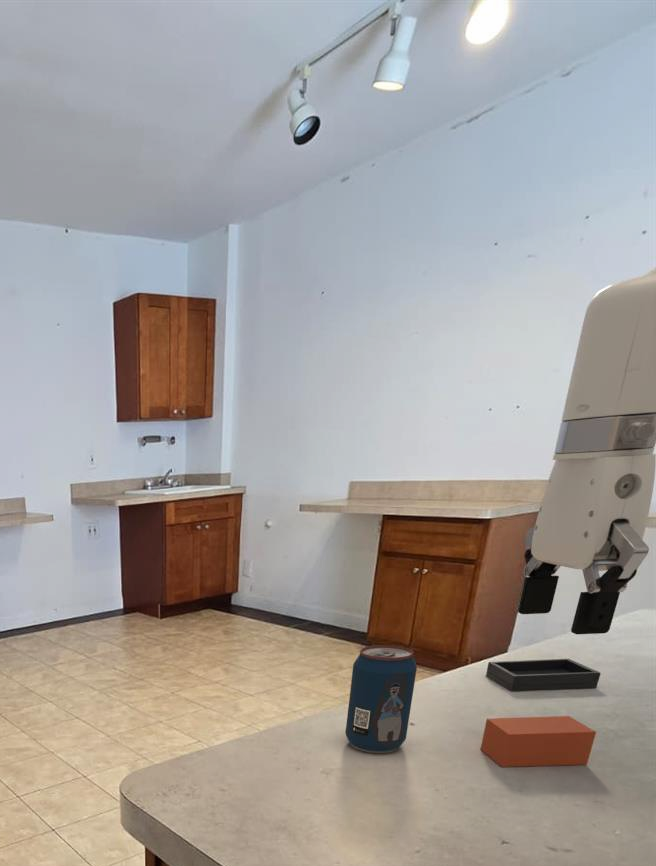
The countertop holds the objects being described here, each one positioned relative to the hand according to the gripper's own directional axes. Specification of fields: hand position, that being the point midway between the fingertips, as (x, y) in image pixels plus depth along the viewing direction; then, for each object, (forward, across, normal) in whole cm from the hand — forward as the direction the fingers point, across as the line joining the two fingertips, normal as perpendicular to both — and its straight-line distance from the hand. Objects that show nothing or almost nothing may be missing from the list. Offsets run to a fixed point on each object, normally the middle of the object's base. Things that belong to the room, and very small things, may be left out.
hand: (559, 622), depth 67 cm
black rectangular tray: (+16, +28, -16) cm, 36 cm away
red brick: (+16, +1, -1) cm, 16 cm away
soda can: (+16, +6, +15) cm, 23 cm away
